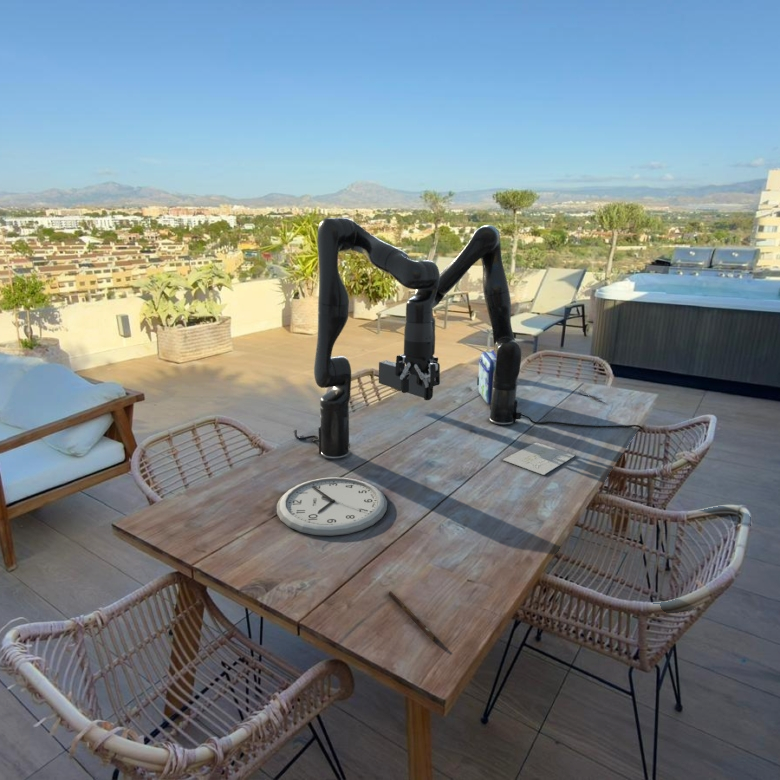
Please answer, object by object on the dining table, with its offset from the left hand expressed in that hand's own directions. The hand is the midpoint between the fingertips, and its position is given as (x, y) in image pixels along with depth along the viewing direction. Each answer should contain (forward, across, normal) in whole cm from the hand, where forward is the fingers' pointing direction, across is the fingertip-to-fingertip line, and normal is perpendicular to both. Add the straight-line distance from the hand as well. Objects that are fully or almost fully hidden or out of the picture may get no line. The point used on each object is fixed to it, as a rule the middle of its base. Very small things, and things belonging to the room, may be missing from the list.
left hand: (416, 395), depth 144 cm
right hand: (+16, -42, +51) cm, 68 cm away
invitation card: (+29, +14, +47) cm, 57 cm away
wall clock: (+29, -9, -23) cm, 38 cm away
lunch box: (+29, -34, +87) cm, 98 cm away
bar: (+21, -53, +51) cm, 76 cm away
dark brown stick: (+29, +35, -38) cm, 60 cm away
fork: (+29, -5, +124) cm, 127 cm away
